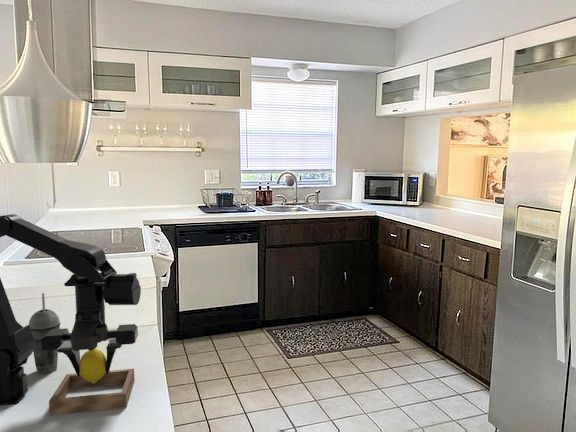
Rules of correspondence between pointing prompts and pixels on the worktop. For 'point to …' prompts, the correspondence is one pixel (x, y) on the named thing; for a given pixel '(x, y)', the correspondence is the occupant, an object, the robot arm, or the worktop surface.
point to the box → (92, 402)
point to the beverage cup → (39, 328)
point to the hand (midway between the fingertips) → (93, 374)
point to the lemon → (92, 365)
